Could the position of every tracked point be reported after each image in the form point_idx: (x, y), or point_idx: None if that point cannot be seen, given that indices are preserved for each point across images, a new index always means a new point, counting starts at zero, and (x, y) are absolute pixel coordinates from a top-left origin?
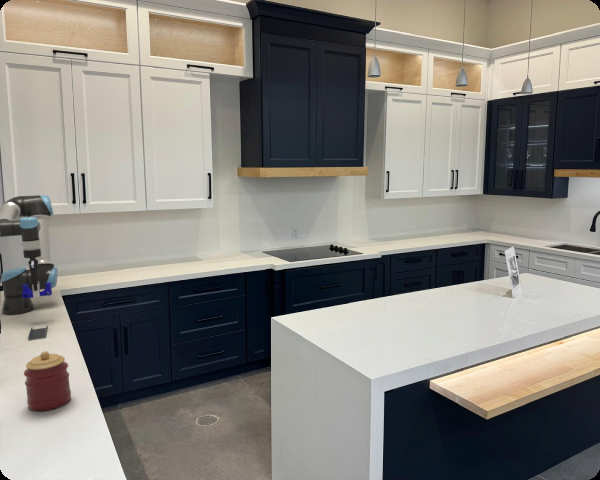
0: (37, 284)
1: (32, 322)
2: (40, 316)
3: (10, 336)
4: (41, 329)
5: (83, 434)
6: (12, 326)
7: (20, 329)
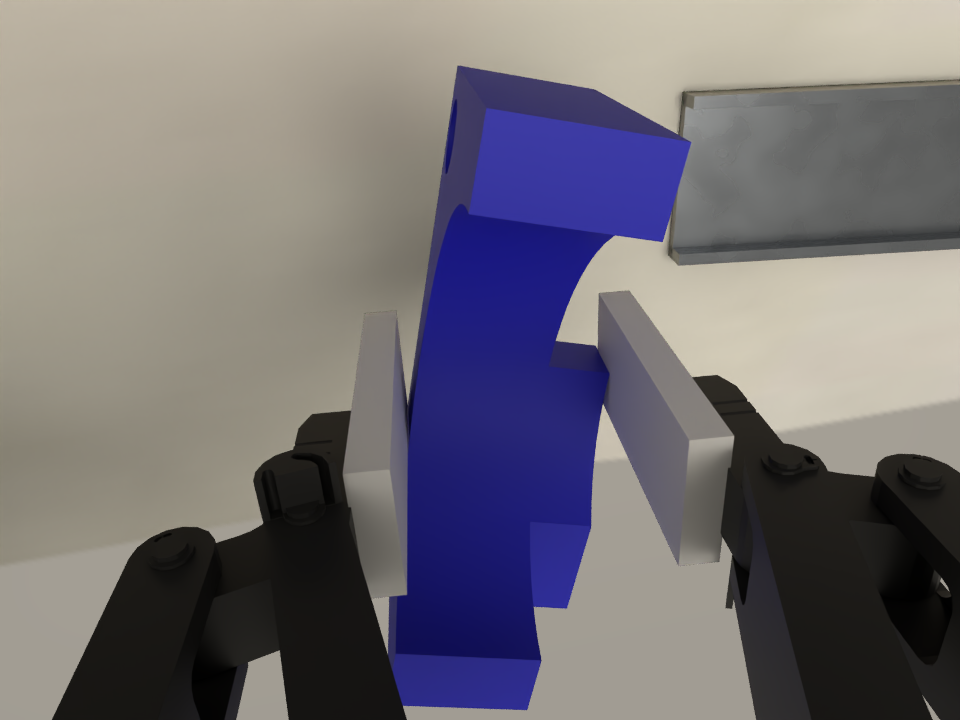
0: (727, 443)
1: (349, 292)
2: (112, 241)
3: None
4: (727, 156)
5: None
6: None
7: None
